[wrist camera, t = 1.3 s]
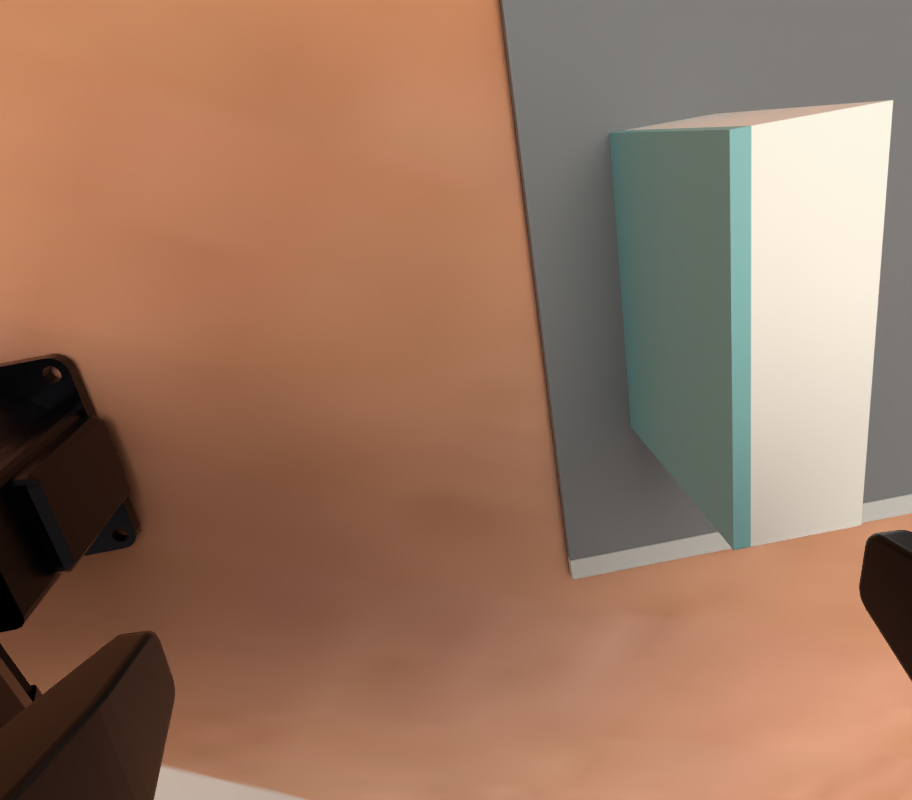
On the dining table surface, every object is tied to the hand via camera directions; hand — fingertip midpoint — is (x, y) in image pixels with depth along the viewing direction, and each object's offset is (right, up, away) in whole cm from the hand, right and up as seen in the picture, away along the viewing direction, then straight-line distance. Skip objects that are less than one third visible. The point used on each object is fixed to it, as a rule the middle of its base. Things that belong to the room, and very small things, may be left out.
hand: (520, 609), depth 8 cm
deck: (+6, +6, +12) cm, 14 cm away
